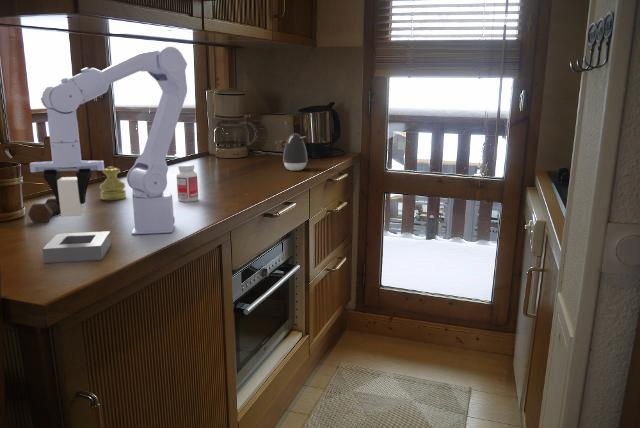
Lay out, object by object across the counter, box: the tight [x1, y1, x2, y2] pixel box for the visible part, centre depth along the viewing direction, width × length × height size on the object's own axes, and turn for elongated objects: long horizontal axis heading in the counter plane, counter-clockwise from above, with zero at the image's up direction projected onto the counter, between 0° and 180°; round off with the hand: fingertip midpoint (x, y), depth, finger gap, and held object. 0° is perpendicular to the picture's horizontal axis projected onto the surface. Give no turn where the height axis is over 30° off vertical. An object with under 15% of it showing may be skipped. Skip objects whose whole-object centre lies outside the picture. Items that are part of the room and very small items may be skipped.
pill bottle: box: [176, 163, 199, 203], centre depth 162 cm, size 6×6×11 cm
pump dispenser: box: [282, 133, 308, 172], centre depth 220 cm, size 10×10×15 cm
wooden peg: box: [57, 176, 85, 218], centre depth 117 cm, size 4×4×8 cm
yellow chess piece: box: [99, 165, 127, 202], centre depth 165 cm, size 7×7×10 cm
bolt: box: [27, 197, 61, 224], centre depth 143 cm, size 6×5×15 cm
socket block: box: [42, 230, 112, 264], centre depth 113 cm, size 11×11×3 cm
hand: (71, 203), depth 117 cm, fingers closed on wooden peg, 4 cm apart
